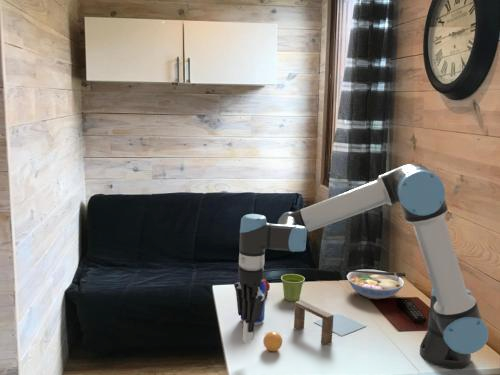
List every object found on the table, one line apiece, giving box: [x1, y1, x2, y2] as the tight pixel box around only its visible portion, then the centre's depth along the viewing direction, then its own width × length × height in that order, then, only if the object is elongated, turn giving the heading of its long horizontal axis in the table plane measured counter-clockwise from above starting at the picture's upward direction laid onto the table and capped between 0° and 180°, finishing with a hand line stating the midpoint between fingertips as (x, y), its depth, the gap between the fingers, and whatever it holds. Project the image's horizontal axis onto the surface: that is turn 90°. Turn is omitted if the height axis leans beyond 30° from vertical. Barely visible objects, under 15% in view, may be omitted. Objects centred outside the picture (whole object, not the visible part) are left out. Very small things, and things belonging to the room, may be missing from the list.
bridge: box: [293, 299, 335, 346], centre depth 177 cm, size 3×15×10 cm, turn 39°
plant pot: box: [280, 273, 306, 302], centre depth 207 cm, size 9×9×9 cm
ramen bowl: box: [343, 269, 406, 300], centre depth 213 cm, size 25×23×8 cm
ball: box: [263, 331, 283, 352], centre depth 166 cm, size 6×6×6 cm
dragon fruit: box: [263, 277, 271, 296], centre depth 209 cm, size 8×8×12 cm
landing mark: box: [313, 312, 367, 337], centre depth 186 cm, size 13×13×1 cm
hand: (247, 340), depth 159 cm, fingers closed
